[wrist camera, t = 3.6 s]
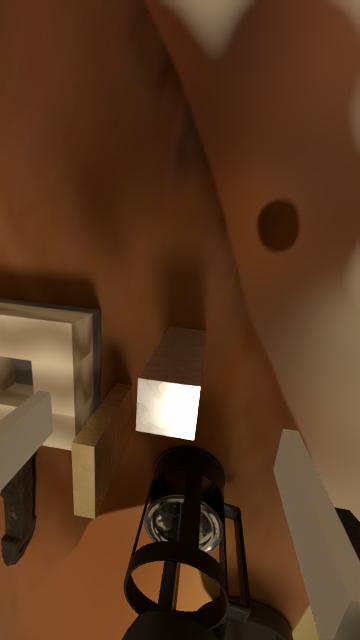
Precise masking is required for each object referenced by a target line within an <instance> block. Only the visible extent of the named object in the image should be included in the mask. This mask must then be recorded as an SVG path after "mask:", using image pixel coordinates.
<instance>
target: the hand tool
mask: <svg viewBox="0 0 360 640" xmlns="http://www.w3.org/2000/svg"><path fill="white" fill-rule="evenodd" d="M36 455H37V451H36V452H35V453H34V454H33V455H32V456H31V457H30V459H29V460H28V461H27V462H26V463H25V464H24V465H23V466H22V468H21V469H20V470H19V471H18V472H17V473H16V474H15V475H14V477H13V478H12V479H11V480H10V481H9V482H8V483H7V484H6V486H5V487H4V488H3V489H2V491H1V494H0V495H1V496H2V497H3V499H4V511H5V524H6V530H5V532H6V533H5V535H4V536H3V538H2V539H1V545H2V550H1V551H2V553H3V554H2V557H3V559H4V562H5V564H6V565H7V566H9V565H14V564H16V563H17V562H18V561H19V560H20V558H21V557H22V556H23V554H24V552H25V550H26V548H27V546H28V544H29V542H30V540H31V538H32V535H33V532H34V527H35V522H36V516H34V515H33V513H32V511H33V474H32V472H33V469H32V460H33V458H34V457H35V456H36Z"/></svg>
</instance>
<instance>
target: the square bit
mask: <svg viewBox="0 0 360 640" xmlns="http://www.w3.org/2000/svg"><path fill="white" fill-rule="evenodd" d="M205 333H206V331H205V330H197V329H189V328H180V327H172V326H170V327H169V328H168V330H167V332H166V333H165V335H164V337H163V338H162V340H161V341H160V343H159V345H158V346H157V348H156V350H155V351H154V353H153V355H152V356H151V358H150V360H149V361H148V363H147V364H146V366H145V368H144V369H143V371H142V373H141V374H140V376H139V378H138V393H137V416H136V431H141V432H147V433H153V434H159V435H165V436H171V437H177V438H183V439H189V440H194V436H195V428H196V419H197V411H198V403H199V395H200V386H201V376H202V365H203V354H204V344H205Z"/></svg>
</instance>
